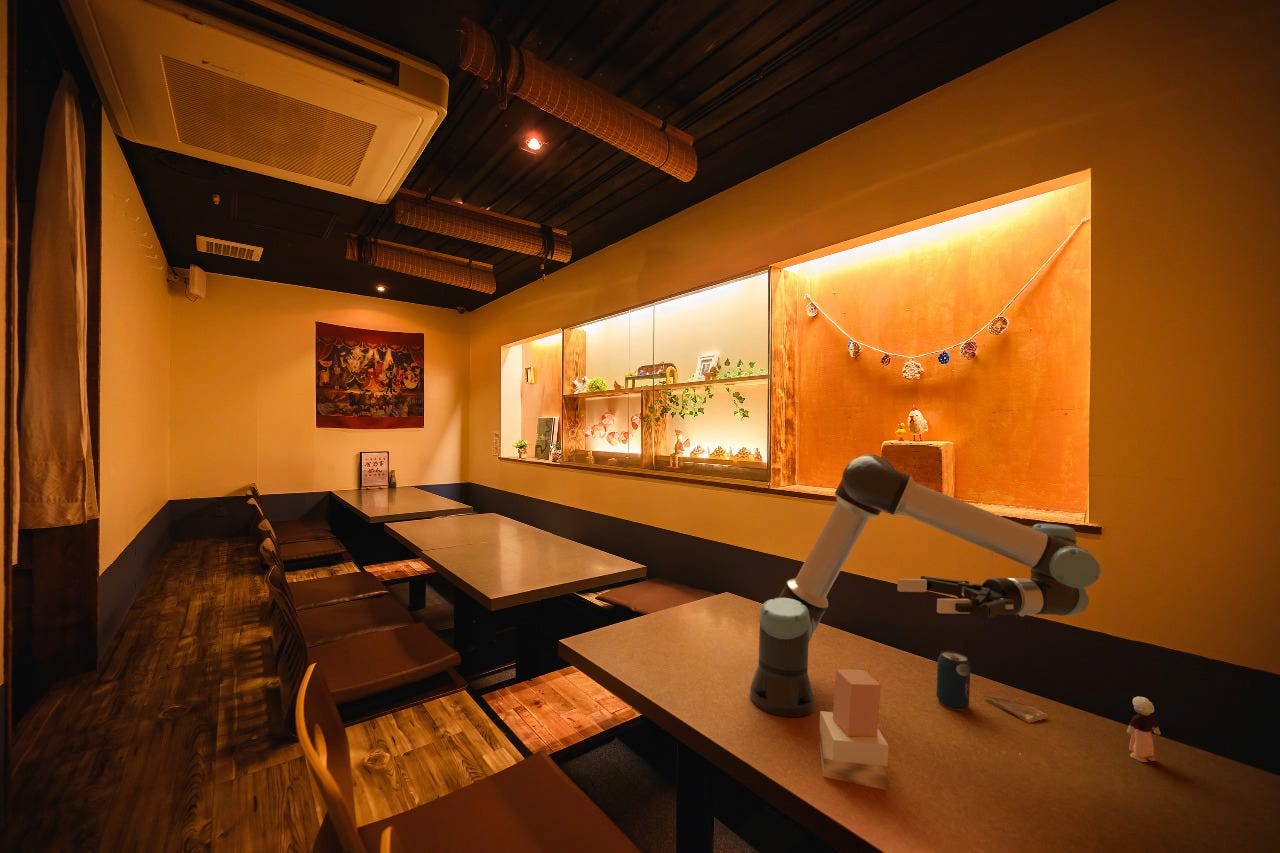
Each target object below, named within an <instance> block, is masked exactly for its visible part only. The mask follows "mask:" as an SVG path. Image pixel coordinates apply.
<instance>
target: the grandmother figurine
mask: <svg viewBox="0 0 1280 853" xmlns="http://www.w3.org/2000/svg"><path fill="white" fill-rule="evenodd" d="M1132 705H1133V709H1134V711H1135V712H1136V713H1137V714H1135V715H1133V717H1132V718H1131V719H1130V721H1129V722H1128V726H1127V729H1126V733H1127V735H1130V736H1131V737H1130V742H1129V746H1128V747H1129V748H1128V750H1130V751H1131V753H1130V754H1129V756H1130V758H1133V759H1135V760H1136V761H1138V762H1141V763H1143V762H1149V760H1151V761H1150V762H1152V761H1155V760H1156V759H1155V757H1154V756H1155V751H1154V750H1155V748H1154V740H1153V736H1152V731H1153V733H1154V734H1155V735H1161V731H1160V728H1159V725H1158V723H1157V722H1156V720H1155V719H1154V717H1153V716H1152V715H1151V714H1152V713H1154V712H1155V707H1154V705H1153V702H1152V701H1150V700H1149V699H1148V698H1147V697H1143V696H1136V697H1133V698H1132ZM1147 759H1148V760H1147Z"/></svg>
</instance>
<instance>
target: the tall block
mask: <svg viewBox="0 0 1280 853" xmlns="http://www.w3.org/2000/svg"><path fill="white" fill-rule="evenodd" d="M834 678H835V681H834V693H833V694H834V695H833V696H834V697H833V710H832V712H833V719H834V720H835V722H836V723H837V724H838V725H839V726H840V728H841V729H842V730H843V731H844V732H845V733H846V735H847V736H877V732H878V730H879V719H880V718H879V716H880V714H879V713H880V701H881V687H882V685H881V684H880V683H879V682H878V681H877V680H876V679H875V678H874V677H872V675H870V673H868V672H866V670H864V669H837V668H836V669H835V677H834Z"/></svg>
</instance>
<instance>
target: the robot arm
mask: <svg viewBox="0 0 1280 853" xmlns="http://www.w3.org/2000/svg"><path fill="white" fill-rule="evenodd" d="M841 477H842V479H841V480H840V482H839V484H838V486H837V488H836V490H835V491H834V496H835V499H836V503H835V505H834V507H833V509H832V510H831V513H830V514H829V516H828V518H827V519H826V522H825V524H824V525H823V528H822V529H821V531H820V533H819V535H818V537H817V539H816V540H815V542H814V543H813V545H812V548H811V550H810V551H809V553H808V555H807V556H806V558H805V560H804V562H803V564H802V566H801V568H800V570H799V572H798V574H797V576H796V577H795V578H791V579H788V580H787V581H786V583H785V585H784V587H783V589H782V591H781V592H780V594H779V596H778V597H774V599H773V598H770V599H767V600H766V601H765V602H764V603H763V604H762V605H761V608H760V611H759V616H758V617H759V620H758V621H759V634H758V637H759V639H758V666H757V668H756V669H755V670H756V671H755V673H754V675H753V678H752V680H751V683H750V686H749V687H750V690H749V691H750V692H749V697H750V700H751V701H752V703H753V704H754V705H755V706H757V708H759V709H761V710H763V711H764V712H766V713H770V714H772V715H775V716H779V717H783V718H784V717H785V718H801V717H804V716H807V715H809V714H811V713H812V712H813V711H814V708H815V695H814V692H813V687H812V684H811V681H810V676H809V674H808V670H809V669H808V668H809V666H808V665H809V645H810V640H811V638H812V636H813V634H814V632H815V630H816V629H817V627H818V626H819V624H820V622H821V620H822V618H823V616H824V614H825V612H826V610H827V609H828V607H829V602H828V599H827V596H828V593H829V592H830V590H831V588H832V586H833V584H834V582H835V581H836V579H837V578H838V576H839V575H840V572H841V570H842V569H843V566H844V564H845V563H846V562H847V560H848V558H849V556H850V554H851V552H852V550H853V549H854V547H855V546H856V543H857V542H858V541H859V538H860V536H861V535H862V533H863V530H864V529H865V527H866V525H867V524H868V522H869V520H870V519H872V518H876V517H879V516H880V513H881V512H884V513H888V514H889V515H892V516H897V515H900V514H901V515H902V516H903V515H904V516H906V517H908V518H910V519H913V520H915V521H917V522H921V523H922V524H925V525H928V526H930V527H933V528H935V529H937V530H940V531H943V532H945V533H947V534H949V535H951V536H954V537H957V538H958V539H961V540H964V541H967V543H968V542H969V543H971V544H973V545H976V546H977V547H980V548H983V549H984V550H985V549H986V550H988V551H989V552H992V553H995V554H998V555H999V556H1001V557H1005V558H1007V559H1010V560H1012V561H1013V562H1016V563H1019V564H1022V565H1023V566H1026V567H1028V568H1030V578H1025V577H1023V578H1022V577H1007V578H1005V577H990V578H988V579H986V580H984V582H983V583H982V584H978V583H972V584H971V583H970V581H969V580H958V579H956V580H955V579H950V578H949V579H948V578H941V577H940V578H939V577H931V576H925V575H921V576H920V578H897V591H898V592H899V593H900V592H901V593H902V592H903V593H904V592H905V593H914V592H915V593H923V594H926V593H927V592H933V593H940V594H943V595H949V596H954V597H957V598H937V599H936V613H938V614H958V615H959V614H965V615H966V614H967V615H969V614H970V613H971V615H973V616H978V615H980V616H981V618H983V619H985V620H986V619H991V618H995V617H997V616H1000V615H1019V616H1020V617H1023V618H1024V617H1025V615H1044V616H1045V615H1048V616H1060V617H1061V616H1062V617H1063V616H1073V615H1079V614H1082V613H1084V612H1085V611H1087V608H1088V606H1089V601H1090V598H1089V596H1088V595H1087V590H1086V588H1087V587H1088V588H1089V587H1090V586H1093V585H1094V584H1095V583H1096V582H1097V581H1098V580H1099V578H1100V576H1101V572H1102V571H1101V567H1100V566H1101V565H1100V563H1099V561H1098V560H1097V559H1096V557H1095V556H1094V555H1093V554H1092V553H1090V552H1089V550H1087V549H1084V548H1081V547H1080V546H1079V545H1077V542H1078V540H1077V534H1076V533H1077V532H1076V530H1075V529H1074V528H1073V527H1072V526H1071V527H1070V526H1067V525H1060V524H1053V523H1036V524H1034V525H1032V528H1031V527H1029V526H1026V525H1023V524H1022V523H1019V522H1017V521H1013V520H1012V519H1008V518H1006V517H1003V516H1000V515H999V514H995V513H994V512H991V511H989V510H988V511H987V510H986V509H983V508H980V507H978V506H975V505H973V504H970V503H968V502H965V501H963V500H960V499H957V498H955V497H952V496H950V495H947V494H946V493H942V492H939V491H937V490H934V489H931V488H929V487H927V486H926V485H925V486H924V485H921V484H919V483H916V482H915V481H914V479H913V477H912V476H911V475H909V474H906V473H904V472H901V471H899V470H897V469H895V467H894V466H893V464H892V463H891V462H890V461H889V460H888V459H886V458H884V457H883V456H880V455H877V454H863V455H860V456H858V457H857V458H854V459H852V460H851V461H850V462H849V463H848V464H847V465H846V466H845V468H844V469H843V472H842V476H841Z"/></svg>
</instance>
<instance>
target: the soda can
mask: <svg viewBox="0 0 1280 853" xmlns="http://www.w3.org/2000/svg"><path fill="white" fill-rule="evenodd" d="M936 668H937V670H936V671H937V672H936V698H937V700H938V701H939V702H940V704H941V705H942V706H943V707H946V708H949V709H951V710H955V711H964V710H965V709H967V708H968V706H969V705H970V692H971V691H970V689H971V688H970V686H971V664H970V663H969V660H968V657H967V656H966V655H964V654H962V653H960V652H956V651H951V650H942V651H940V655H939V656H938V657H937V667H936Z"/></svg>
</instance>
